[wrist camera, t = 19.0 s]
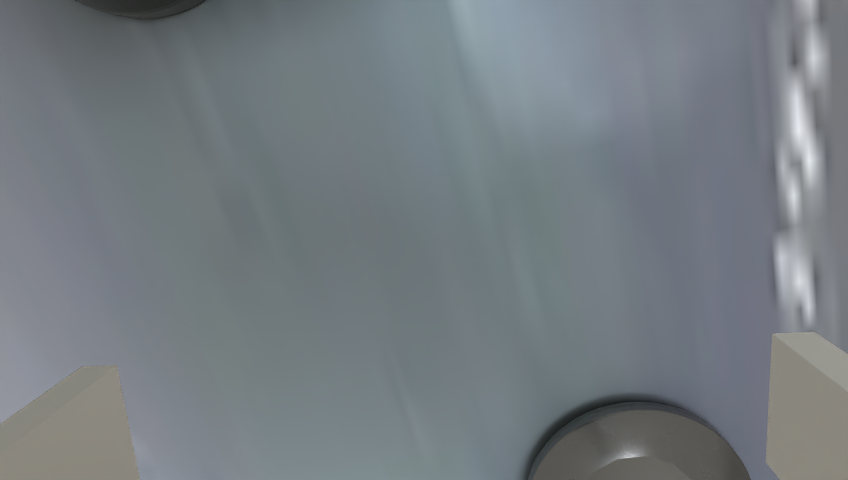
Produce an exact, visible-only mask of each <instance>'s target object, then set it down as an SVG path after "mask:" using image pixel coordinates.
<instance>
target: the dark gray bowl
mask: <svg viewBox="0 0 848 480" xmlns="http://www.w3.org/2000/svg"><path fill="white" fill-rule="evenodd" d="M641 456H648V457H652V458H655V459H658V460H662V461H665V462H668V463H671V464H674V465H675V466H676V467H678V468H679V469H680V470H681V471H682V472H683V473H684V474H685V475H686V476H688V477H689V478H690V479H691V480H751V479H750V476H749V474H748V471H747V470H746V468H745V466H744V464H743V462H742V460H741V459H740V458H739V456H738V455H737V454H736V452H735V451H734V450H733V448H732V447H731V446H730V445H729V443H728V442H727V441H726V439H725V438H724V437H723V436H722V435H721V434H720V433H719V432H718V431H717V430H716V429H715V428H714V427H712V426H711V425H710V424H708V423H707V422H706V421H704V420H703V419H701V418H699V417H697V416H696V415H694V414H692V413H690V412H687V411H685V410H682V409H680V408H677V407H673V406H669V405H666V404H660V403H653V402H625V403H617V404H612V405H608V406H604V407H601V408H598V409H595V410H592V411H589V412H587V413H585V414H583V415H581V416H579V417H577V418H575V419H574V420H572V421H571V422H569V423H568V424H566V425H565V426H564V427H562V428H561V429H560V430H559V431H558V432H556V433H555V434H554V435H553V436H552V437H551V438H550V440H549V441H548V442H547V443H546V444H545V445H544V447H543V448H542V449H541V451H540V452H539V454H538V455H537V457H536V459H535V461H534V463H533V465H532V467H531V470H530V473H529V476H528V479H527V480H588V478H589V477H590V476H591V474H592V473H593V472H595V471H597V470H598V469H600V468H602V467H604V466H606V465H608V464H609V463H611V462H613V461H615V460H617V459H623V458H632V457H641Z"/></svg>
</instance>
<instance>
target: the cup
mask: <svg viewBox="0 0 848 480" xmlns="http://www.w3.org/2000/svg"><path fill="white" fill-rule="evenodd" d="M588 480H691V479H690V478H689V477H688V476H686V475H685V474H684V473H683V472H682V471H681V470H680V469H679V468H678V467H676V466H675V465H674V464H671V463H668V462H665V461H662V460H658V459H655V458H652V457H648V456H641V457H632V458H623V459H617V460H615V461H613V462H611V463H609V464H608V465H606V466H604V467H602V468H600V469H598V470H597V471H595V472H593V473H592V474H591V476H590V477H589V478H588Z"/></svg>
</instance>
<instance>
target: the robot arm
mask: <svg viewBox="0 0 848 480" xmlns="http://www.w3.org/2000/svg"><path fill="white" fill-rule="evenodd" d="M75 1H77V2H79V3H81V4H84V5H86V6H89V7H91V8H94V9H97V10H101V11H105V12H109V13H113V14H117V15H121V16H126V17H133V18H160V17H166V16H170V15H174V14H178V13H181V12H183V11H186V10H188V9H190V8H192V7H194V6H196V5H198V4H200V3H201V2H203V1H205V0H75ZM766 463H767V464H768V466H769V467H770V468H771V469H772V470H773V472H774V473H775V474H776V475H777V476H778V478H779V479H780V480H848V354H847V353H845V352H844V351H842V350H841V349H839V348H838V347H836V346H835V345H833V344H832V343H830V342H829V341H827V340H826V339H824V338H823V337H821V336H820V335H818V334H817V333H815V332H800V333H779V334H772V351H771V371H770V390H769V410H768V430H767V450H766ZM0 480H140V478H139V473H138V468H137V463H136V458H135V453H134V448H133V443H132V438H131V433H130V428H129V423H128V418H127V413H126V408H125V403H124V399H123V394H122V389H121V384H120V379H119V374H118V369H117V365H107V366H86V367H81V368H79V369H78V370H76V371H75V372H74V373H72V374H71V375H69V376H68V377H66V378H65V379H64V380H62V381H61V382H59V383H58V384H57V385H55V386H54V387H52V388H51V389H49V390H48V391H47V392H45V393H44V394H42V395H41V396H40V397H38V398H37V399H35V400H34V401H32V402H31V403H30V404H28V405H27V406H25V407H24V408H23V409H21V410H20V411H18V412H17V413H15V414H14V415H13V416H11V417H10V418H8V419H7V420H6V421H4V422H3V423H1V424H0Z"/></svg>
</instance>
